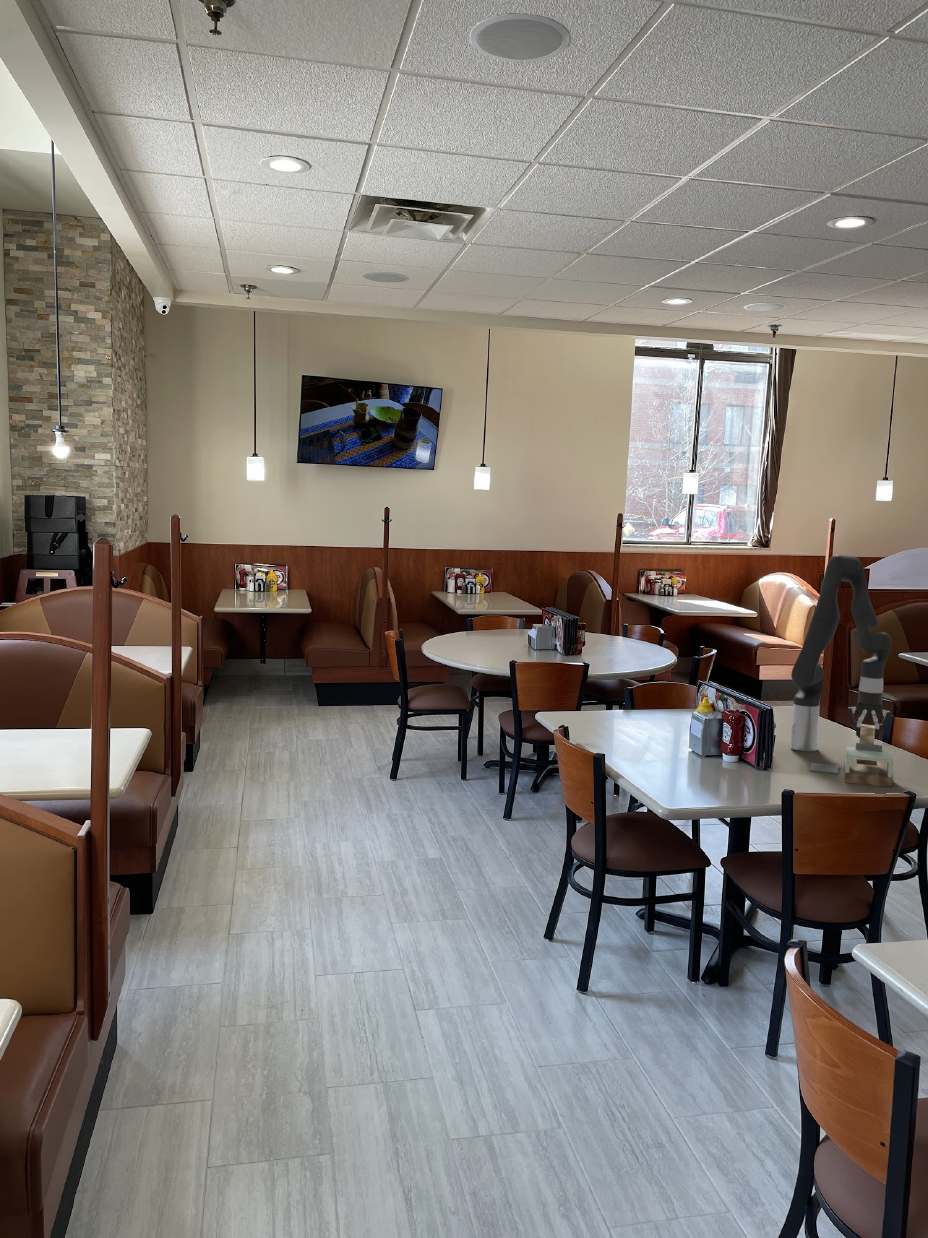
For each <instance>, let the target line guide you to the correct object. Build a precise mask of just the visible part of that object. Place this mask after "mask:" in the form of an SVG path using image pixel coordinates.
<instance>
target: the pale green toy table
mask: <svg viewBox="0 0 928 1238" xmlns="http://www.w3.org/2000/svg"><path fill="white" fill-rule="evenodd" d="M845 755H846V756H845ZM845 755H844V759H845V773H849V767H850V758H855V759H865V760H874V761H884V762H887V764H886V770H887V775H888V777H890V778H893V768H894V767H893V766H894V758H893V753H892V750H883V745H882V744H875V743H874V744H863V743H859V742H856V743H855V747H852V746H846V747H845Z"/></svg>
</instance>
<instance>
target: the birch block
mask: <svg viewBox="0 0 928 1238" xmlns="http://www.w3.org/2000/svg"><path fill="white" fill-rule="evenodd" d="M874 737H875V724H874V725H872V724H865V723H864V724H863V723H861V730H860V738H859V742H858V743H863V744H874V745H875V740H874Z"/></svg>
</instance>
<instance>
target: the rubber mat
mask: <svg viewBox="0 0 928 1238" xmlns="http://www.w3.org/2000/svg"><path fill="white" fill-rule="evenodd" d="M809 772H813V773H823V774H829V775H830V774H831V775H832V774H833V775H839V765H834V764H825V763H824V764H823V763H815V762H810V768H809Z"/></svg>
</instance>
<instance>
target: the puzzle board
mask: <svg viewBox="0 0 928 1238" xmlns="http://www.w3.org/2000/svg"><path fill="white" fill-rule="evenodd" d="M845 756H846V754H844V757H845ZM843 763H844V767H843V768H844V771H843V772H844V783H850V784H858V785H867V786H876V787H887V788H891V787H892V778H893V777H892V778H890V777H888V775H887V770H886V764H887V762H884V761H874V760H865V759H855V758H850V767H849V773H845V758H844V761H843Z"/></svg>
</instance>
